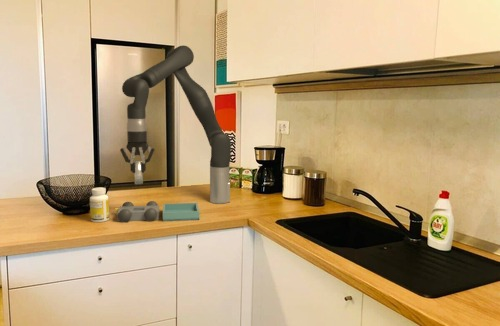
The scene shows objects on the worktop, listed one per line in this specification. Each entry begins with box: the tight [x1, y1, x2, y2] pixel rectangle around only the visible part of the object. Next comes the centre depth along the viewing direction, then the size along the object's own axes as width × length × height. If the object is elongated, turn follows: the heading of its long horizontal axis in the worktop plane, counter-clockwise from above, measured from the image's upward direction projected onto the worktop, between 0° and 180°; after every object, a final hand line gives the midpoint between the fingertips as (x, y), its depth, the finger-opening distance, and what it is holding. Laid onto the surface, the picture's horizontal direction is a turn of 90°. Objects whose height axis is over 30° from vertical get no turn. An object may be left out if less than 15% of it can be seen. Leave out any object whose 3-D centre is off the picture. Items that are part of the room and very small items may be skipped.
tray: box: [162, 202, 200, 222], centre depth 173 cm, size 15×15×4 cm
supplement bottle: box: [89, 186, 110, 223], centre depth 164 cm, size 7×7×13 cm
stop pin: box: [133, 160, 144, 185], centre depth 167 cm, size 3×3×9 cm
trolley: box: [114, 200, 160, 223], centre depth 169 cm, size 18×14×5 cm
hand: (138, 172), depth 167 cm, fingers closed on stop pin, 3 cm apart
